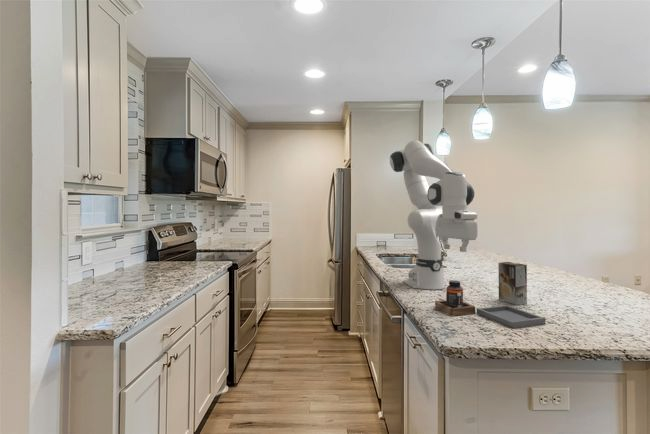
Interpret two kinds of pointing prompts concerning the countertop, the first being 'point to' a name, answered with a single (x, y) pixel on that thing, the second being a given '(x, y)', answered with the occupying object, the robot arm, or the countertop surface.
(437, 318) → the countertop surface
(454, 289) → the supplement bottle
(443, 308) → the walnut holder
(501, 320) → the charcoal tray
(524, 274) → the coffee box
